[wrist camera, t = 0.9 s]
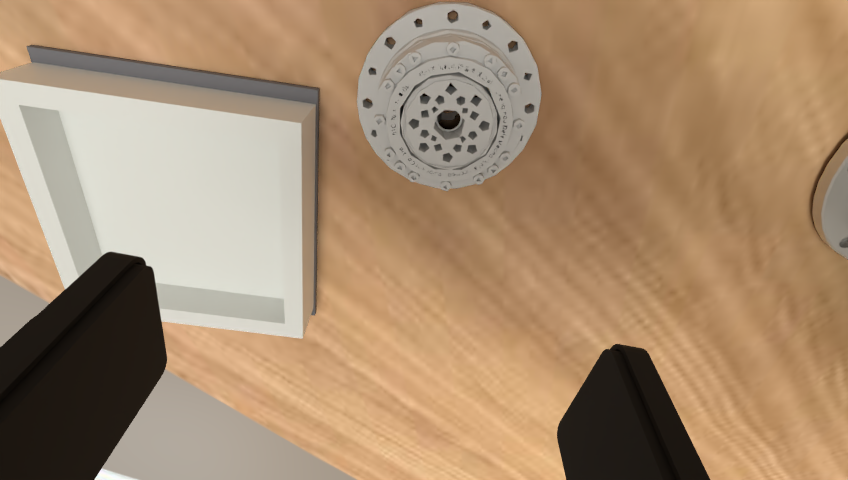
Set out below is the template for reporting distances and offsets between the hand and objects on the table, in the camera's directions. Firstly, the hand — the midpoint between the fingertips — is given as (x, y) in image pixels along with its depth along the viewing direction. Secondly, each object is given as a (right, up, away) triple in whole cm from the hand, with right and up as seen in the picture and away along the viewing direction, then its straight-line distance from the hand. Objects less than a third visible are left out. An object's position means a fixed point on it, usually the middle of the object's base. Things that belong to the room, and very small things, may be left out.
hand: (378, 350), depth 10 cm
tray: (-14, +5, +20) cm, 25 cm away
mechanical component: (+2, +11, +17) cm, 20 cm away
